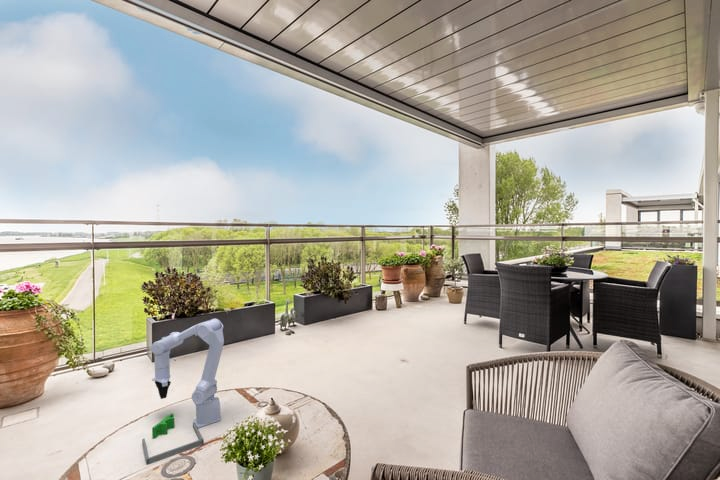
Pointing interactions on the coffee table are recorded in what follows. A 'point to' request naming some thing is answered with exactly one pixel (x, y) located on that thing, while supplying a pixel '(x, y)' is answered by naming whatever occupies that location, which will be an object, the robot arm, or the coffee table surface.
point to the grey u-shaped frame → (173, 451)
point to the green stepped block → (163, 426)
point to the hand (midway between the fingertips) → (163, 397)
